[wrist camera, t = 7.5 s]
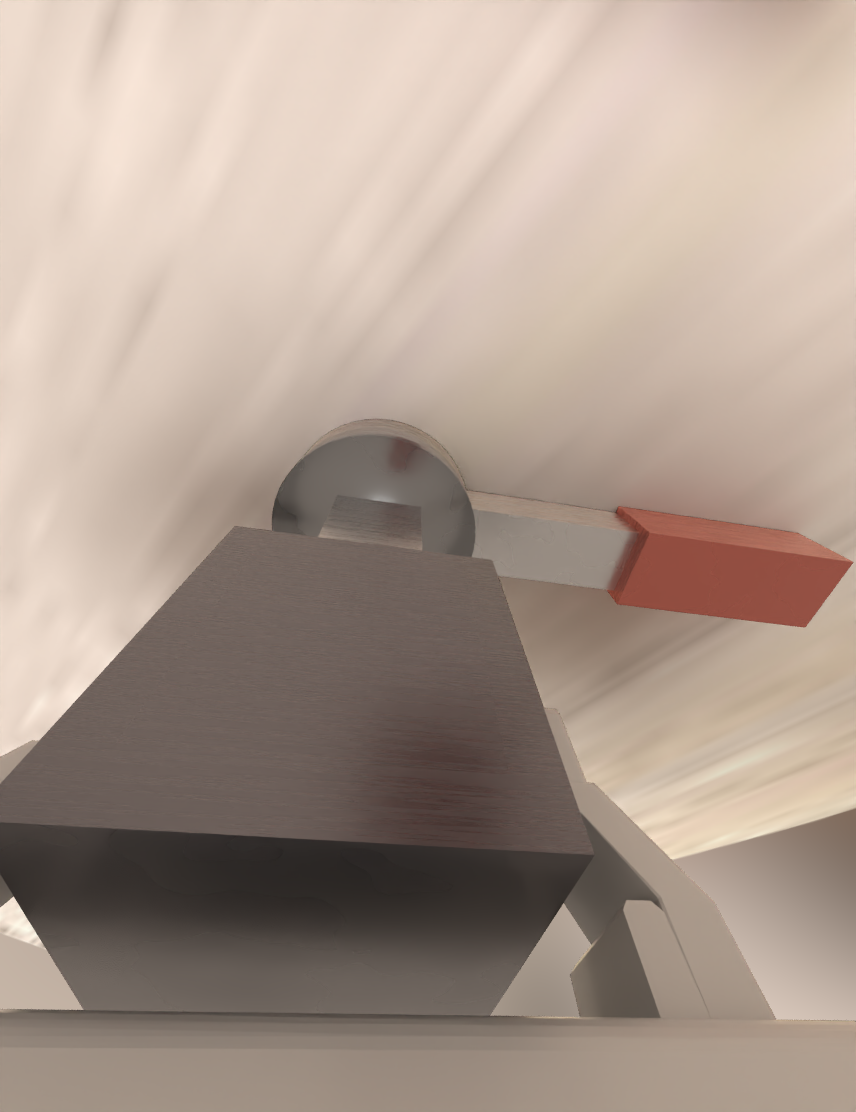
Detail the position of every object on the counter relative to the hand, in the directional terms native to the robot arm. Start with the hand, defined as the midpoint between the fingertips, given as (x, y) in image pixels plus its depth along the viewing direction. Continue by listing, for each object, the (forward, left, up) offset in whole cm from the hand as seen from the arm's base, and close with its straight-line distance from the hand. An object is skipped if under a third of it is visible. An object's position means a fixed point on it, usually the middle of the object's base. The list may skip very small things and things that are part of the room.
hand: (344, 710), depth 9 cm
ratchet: (-8, 0, -11) cm, 14 cm away
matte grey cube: (0, 0, -2) cm, 2 cm away
